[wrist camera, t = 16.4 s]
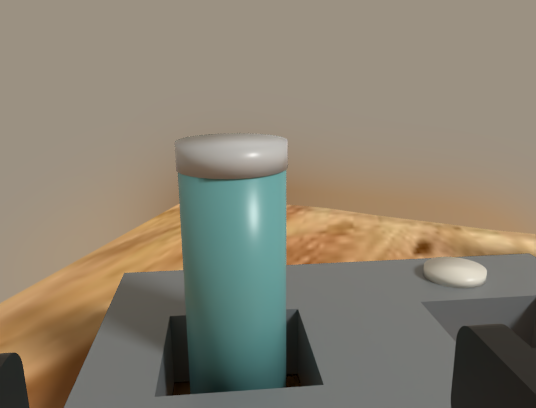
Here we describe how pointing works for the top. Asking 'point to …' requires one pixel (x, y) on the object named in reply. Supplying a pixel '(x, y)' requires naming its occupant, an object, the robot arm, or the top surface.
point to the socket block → (318, 334)
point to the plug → (234, 259)
